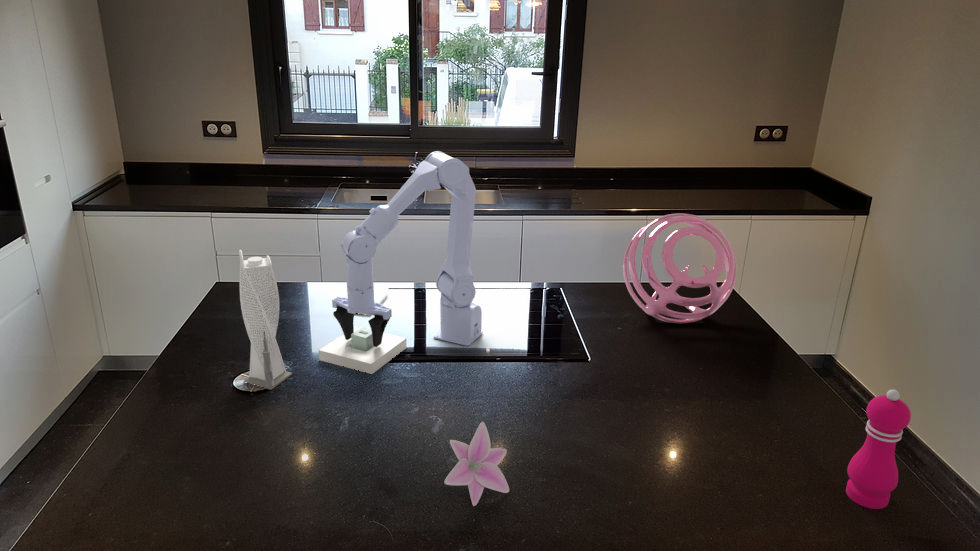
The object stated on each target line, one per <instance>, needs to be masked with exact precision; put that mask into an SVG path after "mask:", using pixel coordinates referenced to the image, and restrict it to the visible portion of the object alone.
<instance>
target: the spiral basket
mask: <svg viewBox="0 0 980 551" xmlns="http://www.w3.org/2000/svg"><path fill="white" fill-rule="evenodd" d="M678 223H679V224H685V225H687V226H686V227H685V226H684V227H681V228H679V229H677V230H675V231H673V232H672V233H671V234H670V235H668V236H667V238H666V239H665V241H664V243H663V246H662V251H661V260H662V265H663V267H664V270H665V272H666V273H667V275H668V276H669V277H670V278H671V279H672V283H671V284H670V286H665V285H663V284H662V282H661V281H660V279H659V277H658V276H657V275H656V273H655V271H654V268H653V264H652V250H653V247H654V243H655V242H656V240H657V238H658V236H659V235H660V234H661V233H662V232H663V231H664V230H665V229H667V228H668V227H670V226H672V225H675V224H678ZM655 226H656V227H655ZM652 227H654V229H652V231H651V232H650V233H649V234H648V235H647V237H646V239H645V242H644V244H643V248H642V253H641V260H642V261H641V262H642V269H643V272H644V276H645V278H646V280H647V281H648V283H649V285H650V286H651V287H652V289H653V290H654V293H653V294H652V296H650V295H649V294H648V293H647V291H646V290H645V289H644V288H643V286H642V284H641V281H640V279H639V278H638V277H639V276H638V274H637V267H636V254H637V250H638V246H639V243H640V241H641V239H642V237H643V236H644V234H645V233H647V231H648V230H649V229H650V228H652ZM687 236H697V237H701V238H704V239H705V240H707V242H709V243H710V245H711V246H712V247H713V249H714V251H715V257H716V261H715V265H714V266H713V268H712V270H710V269H708V268H707V267H706V265H705V264H702V269H703V272H704V275H703V276H699V277H695V276H694V277H693V276H690V275H688V271H689V269H690V267H691V265H690V264H688V265H687V266H686V267H685V268H684V269H683V270H680V269H679V268H678V267H677V265H676V263H675V260H674V257H673V256H674V255H673V254H674V249H675V246H676V244H677V243H678V241H680V240H681V239H682V238H684V237H687ZM622 264H623V265H622V272H623V273H622V274H623V280H624V284H625V285H626V288H627V291H628V293H629V295H630V297H631V298H632V299H633V300H634V302H635V303H636V305H637V306H638V307H639V308H640V309H642V311H644V312H645V314H647V315H648V316H650V317H653V318H655V319H657V320H660V321H662V322H666V323H669V324H670V323H673V324H690V323H694V322H697V321H700V320H703V319H706V318H707V317H709V316H711V315H714V313H715V312H716V311H717V310H718V309H719V308H721V306H723V304H724V303H725V302H726V301H727V300H728V298H730V295H731V293H732V291H733V289H734V288H735V284H736V280H737V275H738V274H737V273H738V265H737V257H736V254H735V251H734V249H733V247H732V244H731V242H730V241H729V239H728V237H727V236H726V235H725V234H724V232H723V231H721V229H720V228H718V227H717V226H716V225H715V224H714V223H712V222H711V221H708V220H707V219H705V218H703V217H701V216H699V215H695V214H689V213H682V212H681V213H679V212H678V213H671V214H669V213H668V214H665V215H662V216H660V217H657V218H655V219H653V220H651V221H650V222H649V223H647V224H646V225H645V226H643V227H641V228H640V229H639V230H638V231H637V232H636V233H635V235H633V236H632V238H631V239H630V242H628V245H627V247H626V250H625V253H624V257H623V262H622ZM724 266H725V279H724V281H723V283H722V284H721V285H720V286H719V287H718V285H717V280H718V278H719V277H720V276H721V274H722V272H723V270H724ZM628 270H629V272H628ZM628 273H629V275H630V279H629V275H628ZM630 280H631V282H632V285H633V287H634V289H635V290H636V292H637V294H638V295H639V296H640V297H641V299H642V300H643V301H644V303H646V304H644V303H643V302H642V301H641V300H640V299H639V298H638V296H637V295H636V293H635V292H634V290H633V287H632V285H631V283H630ZM681 286H684V287H687V288H692V289H700V288H705V287H709V288H710V293H709V294H708V295H705V296H701V297H693V298H692V297H684V296H681V295H679V294H678V293H677V290H678V289H679V288H680V287H681ZM657 296H658V298H657ZM656 298H657V299H656ZM668 304H675V305H678V306H681V307H684V308H686V309H687V310H688V311H689V312H681V311H680V312H679V311H674V310H672V309H669V308H668V307H667V305H668ZM709 304H711V306H709V307H708V308H706V309H704V308H700V307H701V306H705V305H706V306H707V305H709ZM663 315H664V316H663ZM665 316H667V317H665ZM669 317H671V318H669Z"/></svg>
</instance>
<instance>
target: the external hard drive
mask: <svg viewBox="0 0 980 551" xmlns="http://www.w3.org/2000/svg"><path fill="white" fill-rule="evenodd" d="M386 298H387V299H388V294H387V293H379V292H378V293H377V292H376V293H375V292H374V302H376V303H378V304H381V305H383V304H384V302H385V301H386V300H387V299H386ZM359 314H365V313H359ZM359 314H358V315H359ZM367 315H370V314H366V315H365V316H367Z"/></svg>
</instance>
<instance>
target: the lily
mask: <svg viewBox="0 0 980 551" xmlns="http://www.w3.org/2000/svg"><path fill="white" fill-rule="evenodd" d="M449 444H450V447H451V448H452V451H453V452H454V455H455V456H456V458H457V461H458V462H457V463H456V464H455V465H454V467H453V468H452V470H451V471H449V473H448V475H447V476H446V478H445V479H444V482H443V483H444V485H447V486H467V488H468V491H469V497H470V499H471V503H472V507H475V506H477V504H478V503H479V501H480V499H481V497H482V494H483V491H484V489H485V488H487V489H489V490H493V491H496V492H499V493H504V494H508V493H509V492H510V487H509V484H508V482H507V479H506V477H505V475H504V473H503V471H502V470H501V469H500V468H499V466H498V465H499V464H500V463H501V462H502V461H503V459H504V458H505V456H506V455H507V448H499V447H498V448H497V447H496V448H495V447H493V448H491V446H492V445H491V438H490V435H489V431H488V428H487V426H486V423H485V422H484V421H481V422H480V423H479V425H478V426H477V428H476V430H475V433H474V435H473V437H472V439H471V441H470V443H469V444H467V443H465V442H462V441H459V440H455V439H450V440H449Z"/></svg>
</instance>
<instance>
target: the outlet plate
mask: <svg viewBox="0 0 980 551" xmlns="http://www.w3.org/2000/svg"><path fill="white" fill-rule="evenodd" d="M353 327H354V332H355V331H357V330H358V329H360V328H363V327H361V326H357V325H356V326H353ZM406 349H408V348H407V337H403V336H399V335H394V334H390V333H386V332H384V333H383V337H382V342H381V344H380V345H379V346H377V347H372V348H371V349H370V350H368V351H367V352H366V351H362V350H358V349H354V348H352V342H351V338H350V339H349V340H346V339H345V336H344V333H343V334H341V335H340V336H338V337H337V338H335V339H334V340H332V341H331V342H329V343H327V344H326V345H325V346H324V345H323V347H321V348H320V349H318V360H319V361H321V362H325V363H329V364H333V365H336V366H339V367H343V366H344V367H343V368H347V369H351V370H354V369H355V370H354V371H358V370H359V371H360V372H362V373H365V372H366V373H365V374H370V375H373V374H374V373H375V372H377V371H378V370H380V369H381V368H382V367H384V366H385V365H386V364H387V363H389V362H390V361H392V358H393V359H394V358H395V357H397V356H398V355H399V354H401V353H402V352H403V351H404V350H406ZM400 352H401V353H400ZM396 355H397V356H396ZM359 371H358V372H359Z"/></svg>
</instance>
